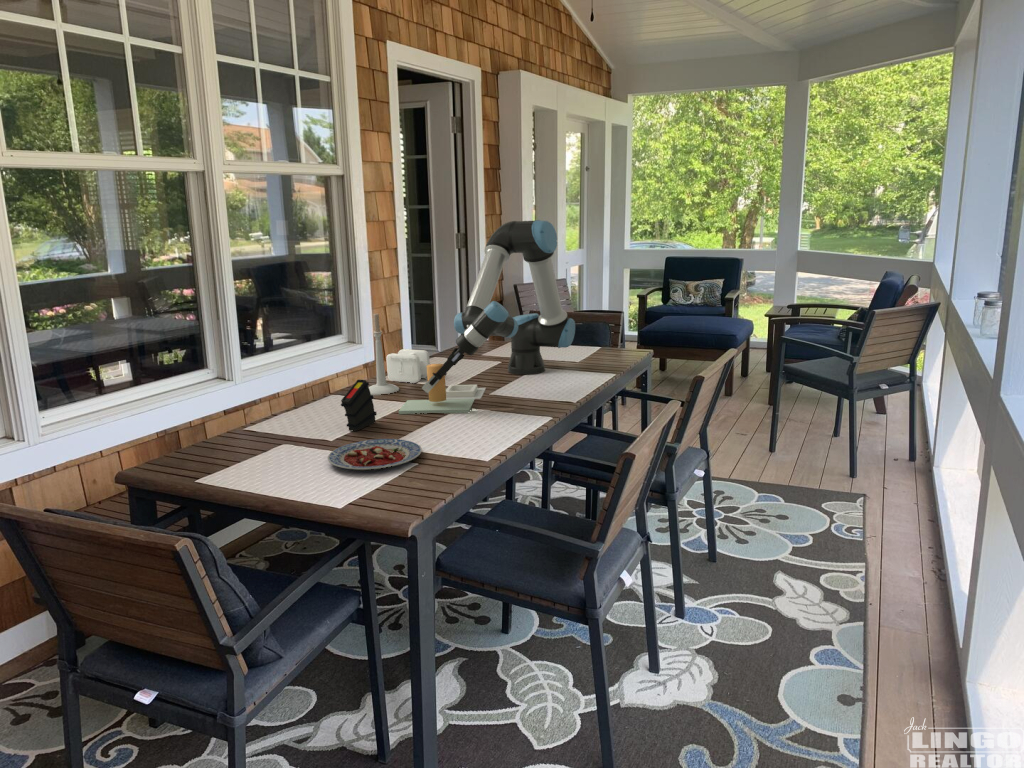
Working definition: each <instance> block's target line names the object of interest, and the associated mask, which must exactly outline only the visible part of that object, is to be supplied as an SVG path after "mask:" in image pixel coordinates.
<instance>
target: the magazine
mask: <svg viewBox="0 0 1024 768" xmlns="http://www.w3.org/2000/svg"><path fill="white" fill-rule="evenodd" d="M369 387H370V383H369V382H368V381H366V379H357V380H356V381H355V382H354V384H353V385H352V386H351V387H350V388H349V390H348V391H347V392H346V393H345V395H344V396H343V398H342V399H341V400H340V402H341V403H340V406H341V407H343V408H344V410H345V414H344V416H345V417H346V418H347V424H346V427H347V428H348V431H349V430H353V431H352V432H358V431H357V430H359V429H361V430H362V428H363V429H365V428H367V427H369V426H371V425H373V424H375V423H376V422H377V421H376V416H377V411H375V406H374V402H373V400H374V395H371V393H370V390H369ZM374 422H375V423H374ZM372 423H373V424H372ZM370 424H371V425H370ZM368 425H369V426H368ZM366 426H367V427H366ZM364 427H365V428H364ZM359 431H360V430H359Z"/></svg>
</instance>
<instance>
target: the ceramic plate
mask: <svg viewBox="0 0 1024 768" xmlns="http://www.w3.org/2000/svg"><path fill="white" fill-rule="evenodd" d="M387 449H392V450H393V451H394V452H393V453H392V451H389V450H387ZM422 450H423V449H422V447H421V445H419V444H418V443H415V442H414V441H411V440H406V439H398V438H377V439H368V440H367V439H366V440H361V441H357V442H352V443H349V444H344V445H342V446H339V447H337V448H335V449H334V450H332V451H331V452H330V453H329V454H328V455H327V461H328V463H329V464H331V465H333V466H335V467H338V468H342V469H345V470H346V469H348V470H361V471H364V470H366V471H372V470H371V469H374V470H381V468H383V469H387V468H386V467H388V468H391V466H392V467H396V466H400V465H402V464H406V463H408V462H411V461H412V460H415V459H416V458H418V457H419V456H420V454H422ZM397 451H402V452H404V453H405V455H406V456H405V458H404V457H403V455H402V454H400V453H399V452H397ZM403 458H404V459H403Z"/></svg>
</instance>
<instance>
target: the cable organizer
mask: <svg viewBox="0 0 1024 768" xmlns="http://www.w3.org/2000/svg"><path fill="white" fill-rule="evenodd" d="M385 358H386V370H387V371H386V372H387V378H388V380H390V381H392V382H393V381H399V382H398V383H407V382H410V383H409V384H412V383H413V384H415V383H418V382H420V381H421V380H422V379H421V378H425V379H428V378H427V365H430V364H431V363H430V353H429V352H428V351H427V350H423V349H407V348H403V349H400V350H399V351H398V352H397V353H393V352H391V353H389V354H387V355H386V357H385Z"/></svg>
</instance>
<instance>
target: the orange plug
mask: <svg viewBox="0 0 1024 768" xmlns="http://www.w3.org/2000/svg"><path fill="white" fill-rule="evenodd" d="M443 365H444V363H430V365H427V378H426V379H427V381H429V379H430V378H431V377H432V376H433V373H437V371H438V370H439V369H440V368H441V367H442V366H443ZM446 389H447V386H446V376H445V375H444V376H443V377H442V379H441V380H439V382H438V383H437V384H436V385H435V386H434V387H433V388H432V389H431V390H430V391H429V392H428V393H427V394H428V400H429V401H431V402H441V401H445V400H446Z"/></svg>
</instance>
